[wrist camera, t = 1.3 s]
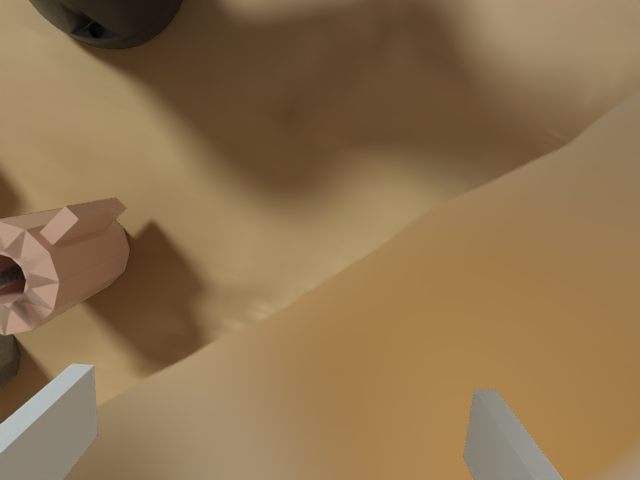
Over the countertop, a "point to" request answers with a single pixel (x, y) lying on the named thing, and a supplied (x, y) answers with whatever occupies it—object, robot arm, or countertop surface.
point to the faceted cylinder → (8, 358)
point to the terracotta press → (59, 260)
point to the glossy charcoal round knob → (11, 275)
